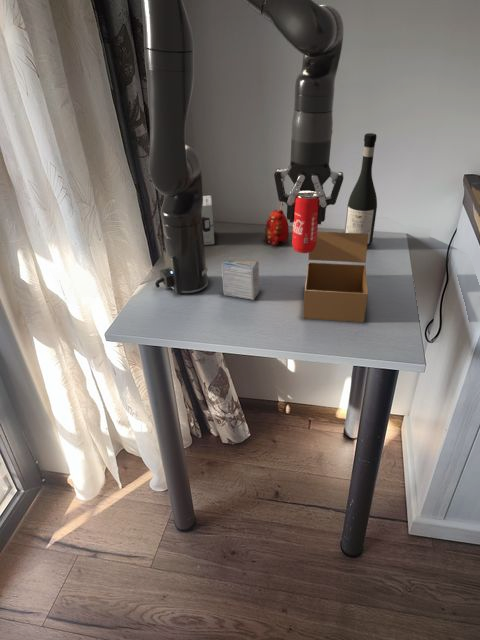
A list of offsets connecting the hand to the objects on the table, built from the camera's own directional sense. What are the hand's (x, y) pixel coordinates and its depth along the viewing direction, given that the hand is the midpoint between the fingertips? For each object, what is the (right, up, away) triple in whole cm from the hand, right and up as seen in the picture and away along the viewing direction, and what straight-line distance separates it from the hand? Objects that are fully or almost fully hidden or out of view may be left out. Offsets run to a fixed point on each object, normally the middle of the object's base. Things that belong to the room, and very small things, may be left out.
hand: (305, 221), depth 100 cm
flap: (+9, -3, +13) cm, 16 cm away
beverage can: (0, -5, +4) cm, 6 cm away
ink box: (-26, +6, +44) cm, 51 cm away
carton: (+8, -16, +13) cm, 22 cm away
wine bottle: (+19, +4, +40) cm, 45 cm away
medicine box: (-14, -13, +18) cm, 26 cm away
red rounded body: (-5, +5, +42) cm, 42 cm away
